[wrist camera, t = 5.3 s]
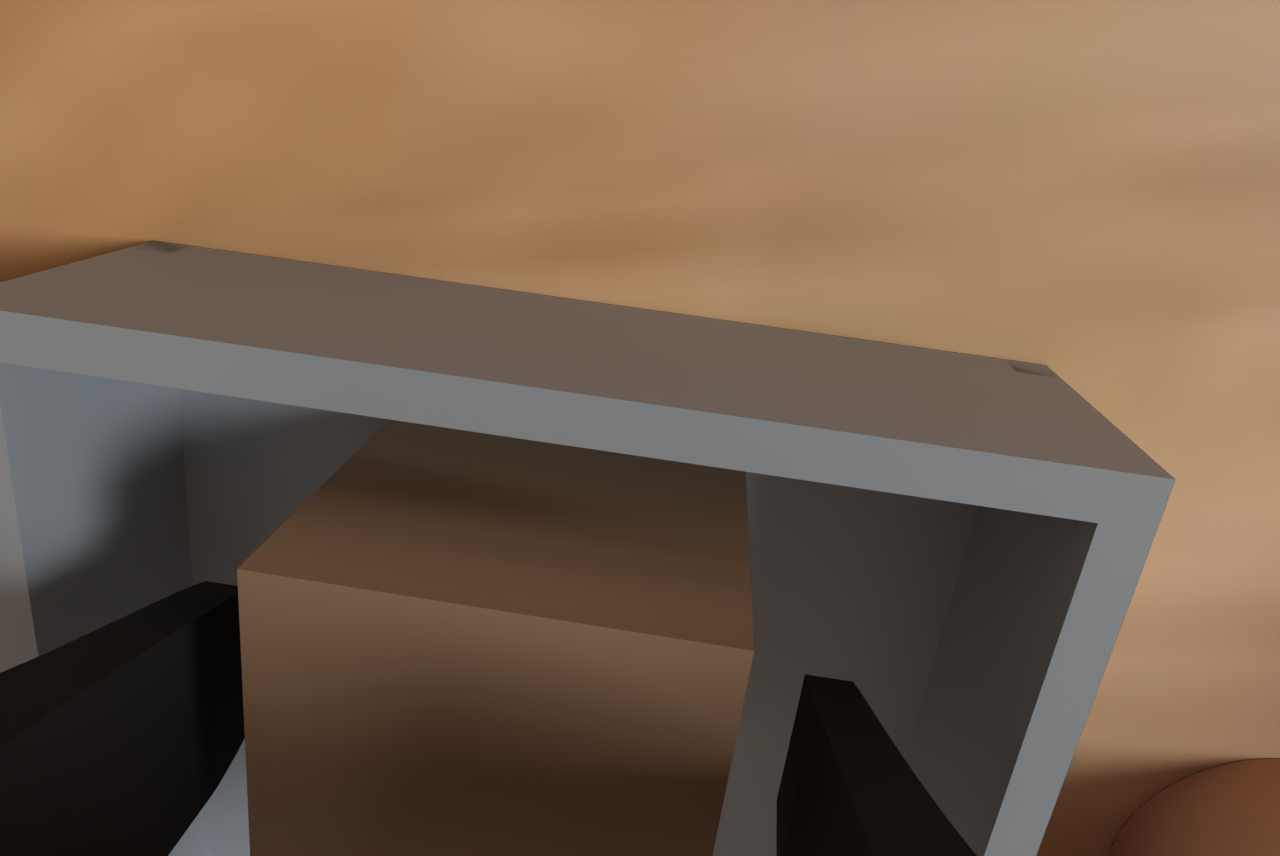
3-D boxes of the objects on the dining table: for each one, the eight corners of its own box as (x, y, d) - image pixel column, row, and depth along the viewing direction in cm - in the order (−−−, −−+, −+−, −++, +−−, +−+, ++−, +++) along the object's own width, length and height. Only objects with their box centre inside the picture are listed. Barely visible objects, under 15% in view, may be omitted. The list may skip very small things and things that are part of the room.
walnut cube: (694, 725, 15) (680, 1016, 10) (399, 678, 15) (254, 941, 10) (744, 449, 13) (754, 650, 8) (408, 399, 13) (237, 569, 9)
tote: (826, 1103, 19) (850, 1356, 15) (212, 996, 19) (88, 1213, 16) (1046, 365, 13) (1174, 479, 9) (153, 240, 13) (-68, 300, 10)
